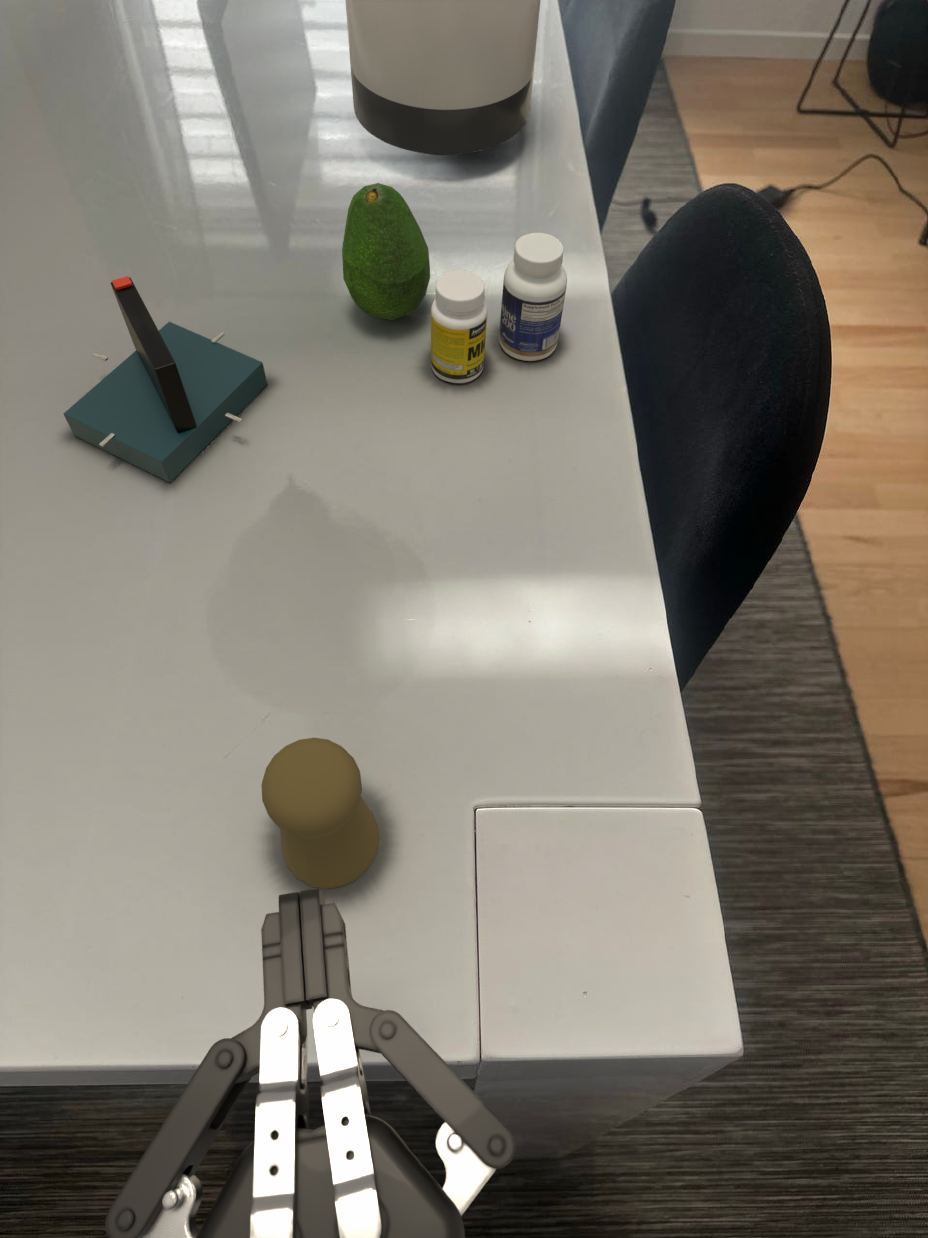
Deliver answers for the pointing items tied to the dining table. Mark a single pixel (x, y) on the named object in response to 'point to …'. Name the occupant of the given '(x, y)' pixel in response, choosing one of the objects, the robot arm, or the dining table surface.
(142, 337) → the red-tipped black panel
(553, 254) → the pill bottle
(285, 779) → the cork
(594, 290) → the dining table surface
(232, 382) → the teal base plate
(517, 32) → the planter
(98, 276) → the dining table surface
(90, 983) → the dining table surface
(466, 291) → the supplement bottle
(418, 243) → the avocado
